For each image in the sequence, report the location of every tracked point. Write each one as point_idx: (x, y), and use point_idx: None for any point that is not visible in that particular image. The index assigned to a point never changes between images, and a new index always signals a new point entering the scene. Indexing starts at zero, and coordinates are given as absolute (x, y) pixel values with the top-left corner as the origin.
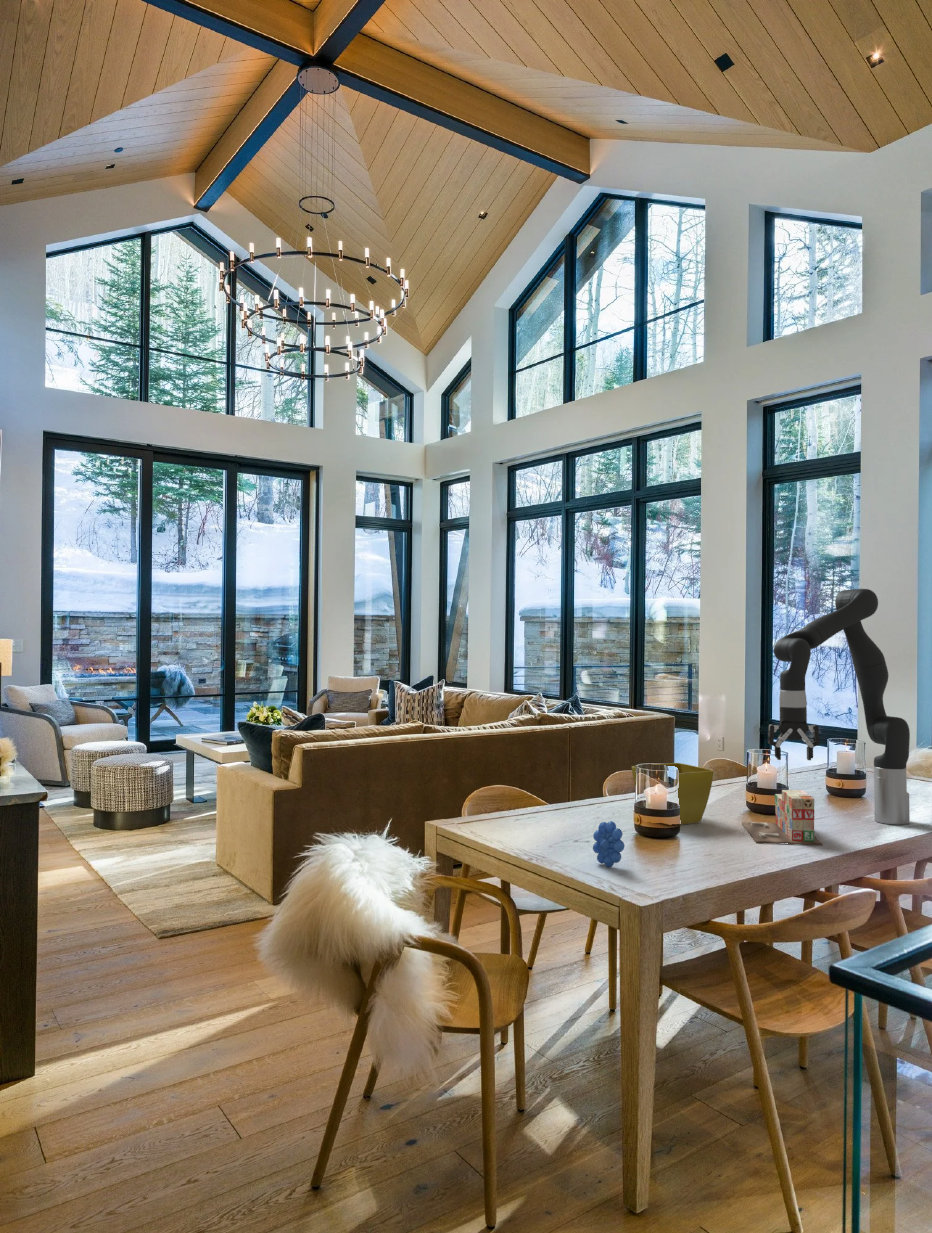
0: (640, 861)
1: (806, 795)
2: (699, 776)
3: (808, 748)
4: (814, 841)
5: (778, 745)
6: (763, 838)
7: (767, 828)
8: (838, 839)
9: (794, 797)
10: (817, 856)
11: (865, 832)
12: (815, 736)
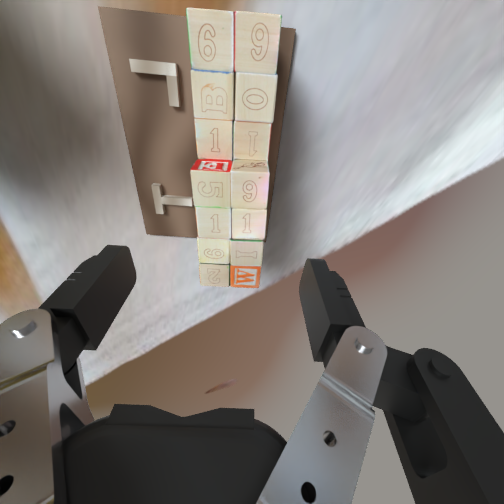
0: (3, 321)
1: (249, 261)
2: None
3: (313, 356)
4: None
5: (66, 372)
6: (161, 214)
7: (177, 111)
8: (318, 194)
9: (209, 277)
10: (234, 293)
11: (429, 117)
12: (417, 497)
